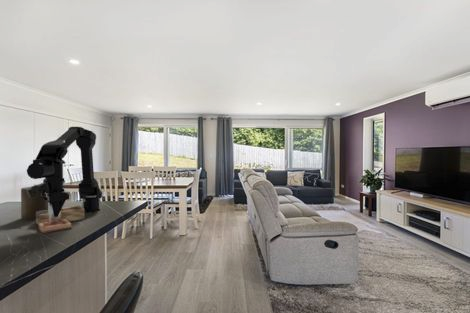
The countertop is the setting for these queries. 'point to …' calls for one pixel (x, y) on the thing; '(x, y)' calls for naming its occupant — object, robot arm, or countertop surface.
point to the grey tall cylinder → (51, 217)
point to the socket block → (65, 214)
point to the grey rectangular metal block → (41, 213)
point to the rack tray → (54, 226)
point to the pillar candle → (31, 204)
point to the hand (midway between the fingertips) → (54, 215)
